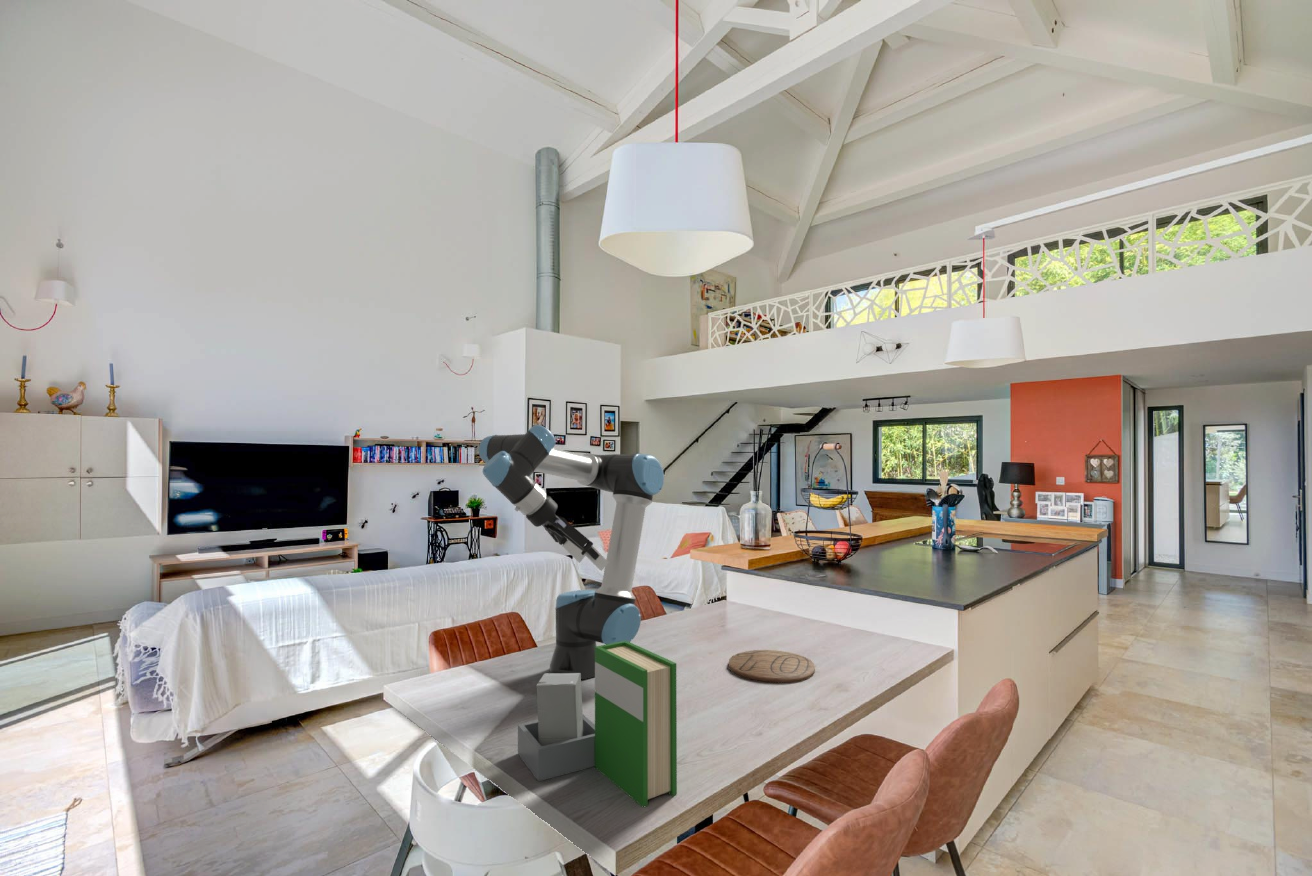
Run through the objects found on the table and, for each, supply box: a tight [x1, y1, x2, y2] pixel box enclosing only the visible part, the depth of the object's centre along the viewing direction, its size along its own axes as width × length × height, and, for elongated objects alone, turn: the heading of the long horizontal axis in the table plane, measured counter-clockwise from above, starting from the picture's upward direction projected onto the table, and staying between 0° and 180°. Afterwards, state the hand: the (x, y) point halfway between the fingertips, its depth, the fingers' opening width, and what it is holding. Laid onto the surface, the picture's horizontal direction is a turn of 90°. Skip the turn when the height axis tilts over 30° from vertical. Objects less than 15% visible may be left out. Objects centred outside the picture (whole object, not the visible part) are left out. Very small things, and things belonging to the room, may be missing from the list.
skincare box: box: [535, 672, 584, 746], centre depth 129 cm, size 8×7×16 cm
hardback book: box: [594, 641, 678, 808], centre depth 121 cm, size 18×7×24 cm, turn 35°
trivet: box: [728, 649, 816, 685], centre depth 185 cm, size 25×25×2 cm
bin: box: [517, 714, 595, 782], centre depth 130 cm, size 13×14×6 cm
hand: (593, 562), depth 159 cm, fingers open, 13 cm apart
